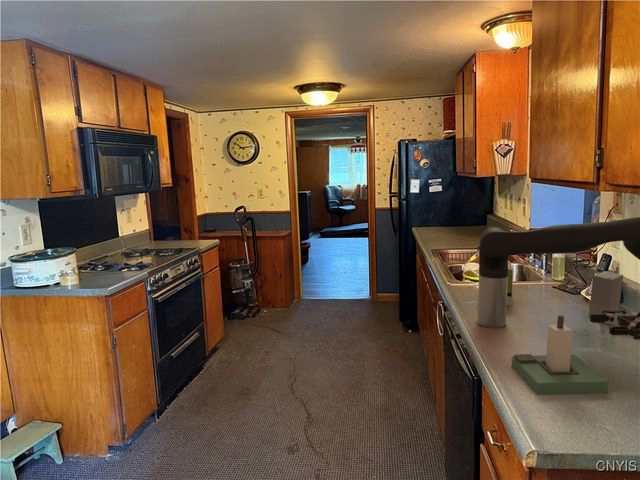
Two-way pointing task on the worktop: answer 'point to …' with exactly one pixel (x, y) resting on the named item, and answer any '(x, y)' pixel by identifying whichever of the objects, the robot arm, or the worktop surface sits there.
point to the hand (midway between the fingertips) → (600, 324)
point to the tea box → (509, 284)
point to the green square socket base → (558, 376)
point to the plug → (559, 347)
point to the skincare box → (605, 292)
